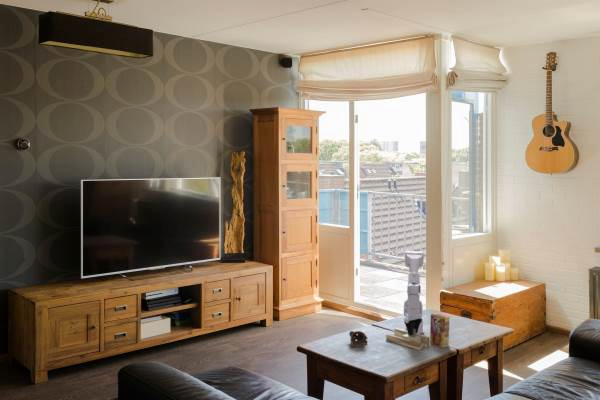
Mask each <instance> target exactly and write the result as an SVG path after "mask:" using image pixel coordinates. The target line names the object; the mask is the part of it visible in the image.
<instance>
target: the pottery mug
mask: <svg viewBox="0 0 600 400" xmlns="http://www.w3.org/2000/svg"><path fill="white" fill-rule="evenodd" d="M349 338H350V347H351V348H354V347H359V346H360V347H361V346H362V345H364V344H366V345H368V337H367V335H366V334H365V333H364V332H363V331H362V330H361V331H360V330H357V331H353V330H351V331H350V332H349Z"/></svg>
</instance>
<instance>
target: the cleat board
mask: <svg viewBox="0 0 600 400" xmlns="http://www.w3.org/2000/svg"><path fill="white" fill-rule="evenodd" d="M393 332H394V333H393V334H389V333H387V334H385V336H386V337H385V339H386V340H385V341H387V340H388V341H387V342H390V341H391V343H394V344H398V345H402V346H404V347H409V348H412V349H415V350H418V351H419V350H422V349H424V348H426V347H427V348H428V347H429V346H430V336H428V335H424V334H417V333H415V336H419V337H421V343H419V342H415V341H411V340H408V339H404V338H402V337H403V335H405V334H408V331H406V329H402V328H397V327H396V328H394V329H393Z"/></svg>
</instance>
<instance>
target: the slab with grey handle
mask: <svg viewBox="0 0 600 400" xmlns="http://www.w3.org/2000/svg"><path fill="white" fill-rule="evenodd" d="M415 331H416V329H414V330H413V335H408V334H405V335H403V337H402V338H404V339H408V340H411V341H415V342H419V343H421V337H419V336H415Z"/></svg>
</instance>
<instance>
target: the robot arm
mask: <svg viewBox="0 0 600 400" xmlns="http://www.w3.org/2000/svg"><path fill="white" fill-rule="evenodd" d="M424 253H425V252H424V251H417V250H416V251H414V250H413V251H412V250H410V251H409V250H405V251H404V265H405V267H407V268H408V271H409V274H408V276H407V277H408V279H407V281H408V283H407V288H406V289H407V290H406V291H407V293H406V294H407V299H406V300H404V302H403V303H404V304H403V316H404V319H403V323H404V325H405V330H406V331H408V335H413V330H414V329H416V331H415V333H417V334H421V335H423V334H425V331H424V320H423V302H422V301H421V299H420V296H421V295H420V294H421V292H422V291H421V289H422V288H421V283H420V282H421V277H420V274H419V270H420V268H422V267H423V265H424V258H425V257H424V256H425V255H424Z"/></svg>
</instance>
